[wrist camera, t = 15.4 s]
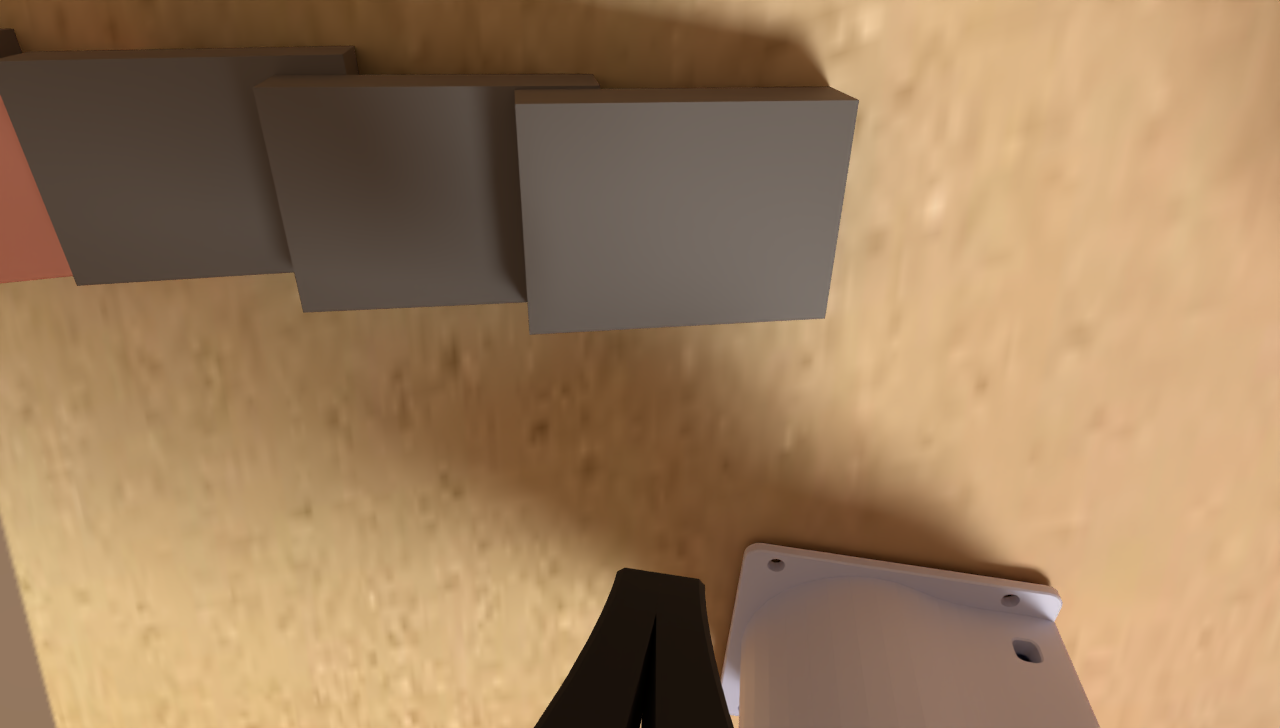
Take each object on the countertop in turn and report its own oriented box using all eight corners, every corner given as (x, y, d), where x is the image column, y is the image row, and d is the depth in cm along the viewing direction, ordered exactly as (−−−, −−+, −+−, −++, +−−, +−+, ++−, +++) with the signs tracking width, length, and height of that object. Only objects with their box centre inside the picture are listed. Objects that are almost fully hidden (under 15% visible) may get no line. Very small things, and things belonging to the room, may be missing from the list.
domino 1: (112, 60, 17) (-224, 86, 16) (190, 263, 20) (-98, 293, 19) (142, 51, 18) (-166, 75, 18) (211, 242, 21) (-56, 269, 20)
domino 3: (599, 85, 16) (252, 87, 15) (601, 298, 18) (303, 312, 17) (592, 74, 17) (274, 74, 16) (594, 273, 20) (318, 285, 19)
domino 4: (858, 100, 15) (514, 103, 14) (824, 318, 18) (529, 334, 17) (829, 87, 17) (514, 89, 16) (801, 291, 19) (527, 304, 18)
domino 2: (342, 54, 16) (-13, 61, 15) (381, 266, 19) (77, 285, 18) (354, 45, 18) (28, 51, 17) (388, 245, 20) (106, 261, 19)
